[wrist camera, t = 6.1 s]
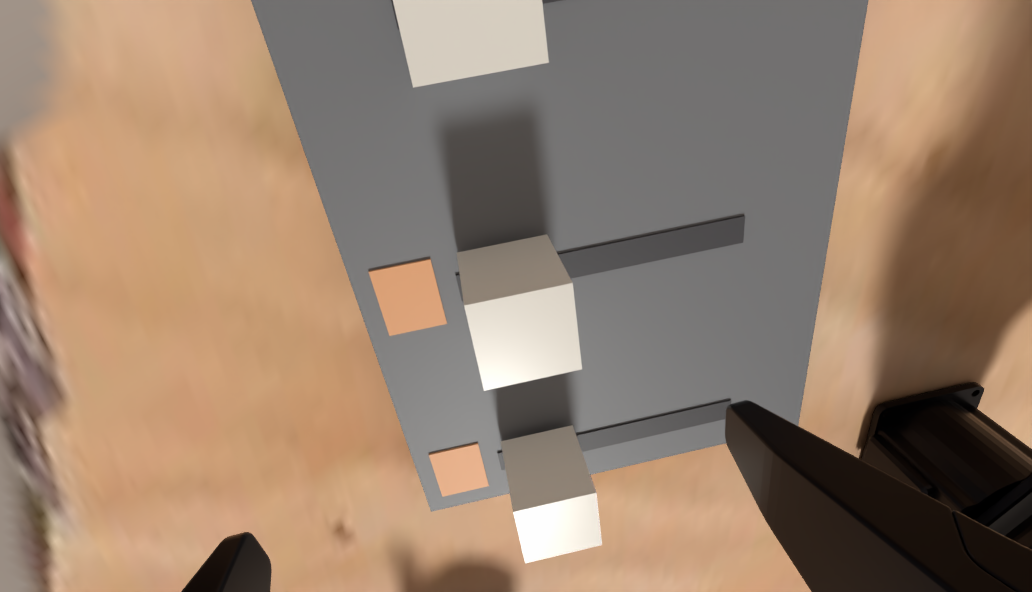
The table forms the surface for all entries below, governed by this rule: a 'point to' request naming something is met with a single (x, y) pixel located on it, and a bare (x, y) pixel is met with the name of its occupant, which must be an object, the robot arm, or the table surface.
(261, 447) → the table surface
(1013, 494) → the robot arm
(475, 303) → the switch mid
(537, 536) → the switch far
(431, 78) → the switch near
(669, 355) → the switch board
